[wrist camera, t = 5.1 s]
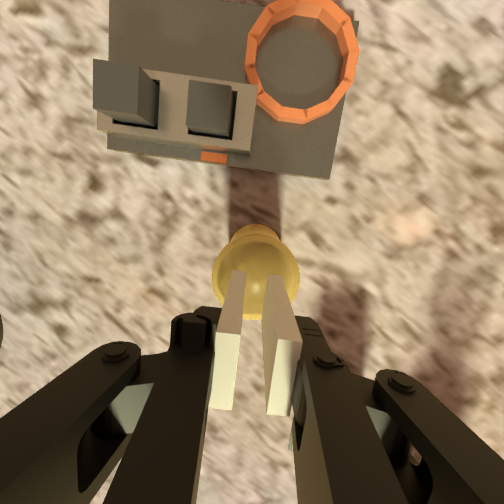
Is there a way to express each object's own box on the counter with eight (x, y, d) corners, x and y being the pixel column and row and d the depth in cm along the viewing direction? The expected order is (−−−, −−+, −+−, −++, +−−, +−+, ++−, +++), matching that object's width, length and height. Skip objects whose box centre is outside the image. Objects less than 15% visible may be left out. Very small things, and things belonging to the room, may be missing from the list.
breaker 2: (198, 136, 24) (185, 125, 20) (201, 100, 24) (189, 79, 19) (231, 141, 24) (226, 130, 20) (235, 104, 24) (231, 85, 19)
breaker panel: (115, 150, 27) (84, 142, 22) (118, -4, 24) (84, -54, 19) (325, 179, 27) (340, 177, 23) (353, 31, 25) (377, -9, 20)
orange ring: (240, 115, 25) (239, 110, 23) (253, -3, 23) (253, -16, 21) (339, 129, 25) (344, 125, 23) (361, 13, 23) (368, 1, 21)
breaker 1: (123, 124, 23) (93, 108, 19) (124, 84, 22) (93, 58, 18) (159, 128, 23) (137, 114, 19) (161, 89, 22) (139, 65, 18)
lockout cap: (223, 273, 30) (207, 314, 20) (229, 216, 28) (216, 230, 19) (279, 280, 30) (291, 324, 20) (288, 224, 28) (306, 242, 19)
